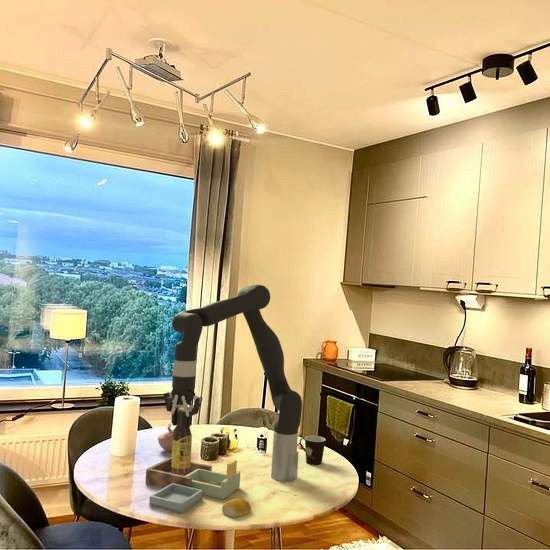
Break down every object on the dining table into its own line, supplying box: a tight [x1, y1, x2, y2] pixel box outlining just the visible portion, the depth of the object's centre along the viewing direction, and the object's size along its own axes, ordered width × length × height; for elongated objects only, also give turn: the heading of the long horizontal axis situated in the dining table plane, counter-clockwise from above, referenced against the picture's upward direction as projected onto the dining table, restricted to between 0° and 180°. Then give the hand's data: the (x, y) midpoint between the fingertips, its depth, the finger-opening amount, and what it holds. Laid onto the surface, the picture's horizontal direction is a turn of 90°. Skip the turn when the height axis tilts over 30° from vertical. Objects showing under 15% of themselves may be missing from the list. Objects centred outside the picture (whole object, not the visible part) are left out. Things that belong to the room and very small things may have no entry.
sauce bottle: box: [171, 408, 193, 475], centre depth 171 cm, size 7×6×20 cm
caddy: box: [185, 459, 241, 500], centre depth 183 cm, size 17×12×10 cm
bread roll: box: [221, 497, 251, 518], centre depth 166 cm, size 8×9×4 cm
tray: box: [148, 483, 204, 515], centre depth 170 cm, size 12×13×3 cm
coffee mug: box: [299, 435, 327, 467], centre depth 218 cm, size 12×9×10 cm
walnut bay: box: [145, 456, 213, 489], centre depth 188 cm, size 18×15×5 cm
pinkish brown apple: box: [157, 423, 175, 453], centre depth 221 cm, size 12×12×12 cm
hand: (181, 425), depth 171 cm, fingers closed on sauce bottle, 4 cm apart
